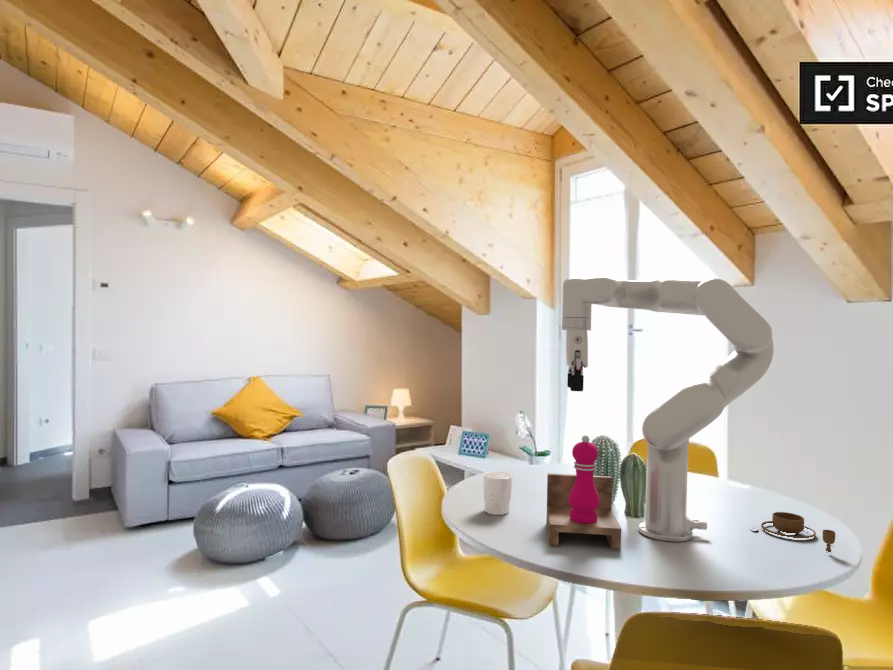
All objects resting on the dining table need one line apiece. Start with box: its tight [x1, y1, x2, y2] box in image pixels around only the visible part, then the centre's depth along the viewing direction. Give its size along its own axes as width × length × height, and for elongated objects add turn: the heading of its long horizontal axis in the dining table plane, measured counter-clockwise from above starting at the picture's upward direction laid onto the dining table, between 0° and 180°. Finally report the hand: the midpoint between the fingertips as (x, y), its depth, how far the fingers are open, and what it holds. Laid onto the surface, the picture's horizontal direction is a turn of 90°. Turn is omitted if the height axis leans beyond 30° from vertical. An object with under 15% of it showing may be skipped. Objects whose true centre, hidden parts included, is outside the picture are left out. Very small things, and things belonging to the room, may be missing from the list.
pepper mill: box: [568, 435, 600, 524], centre depth 140 cm, size 7×7×20 cm
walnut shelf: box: [545, 472, 622, 551], centre depth 144 cm, size 16×16×13 cm
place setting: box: [760, 511, 836, 553], centre depth 146 cm, size 18×20×6 cm
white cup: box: [482, 471, 513, 516], centre depth 162 cm, size 8×8×10 cm
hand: (575, 389), depth 157 cm, fingers open, 9 cm apart
